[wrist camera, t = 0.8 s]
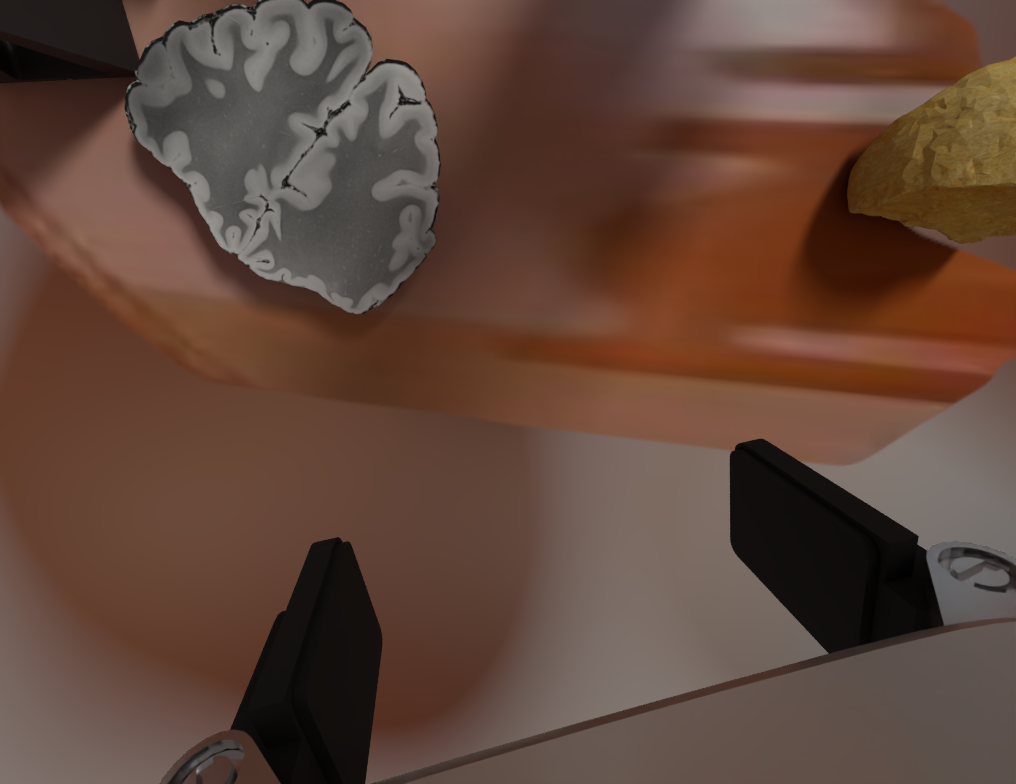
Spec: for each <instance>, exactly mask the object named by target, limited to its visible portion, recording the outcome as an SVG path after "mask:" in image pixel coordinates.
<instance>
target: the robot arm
mask: <svg viewBox="0 0 1016 784" xmlns="http://www.w3.org/2000/svg"><path fill="white" fill-rule="evenodd" d="M730 540H731V545H732V548H733V550H734V552H735V554H736V555H737V556H738V557H739V558H740V559H741V560H742V561H743V562H744V564H745V565H746V566H747V567H748V568H749V569H750V570H751V571H752V572H753V573H754V574H755V575H756V576H757V577H758V578H759V580H760V581H761V582H762V583H763V584H764V585H765V586H766V587H767V588H768V589H769V590H770V591H771V592H772V593H773V594H774V596H775V597H776V598H777V599H778V600H779V601H780V602H781V603H782V604H783V605H784V606H785V607H786V608H787V609H788V611H789V612H790V613H791V614H792V615H793V616H794V617H795V618H796V619H797V620H798V621H799V622H800V623H801V624H802V625H803V626H804V627H805V629H806V630H807V631H808V632H809V633H810V634H811V635H812V636H813V637H814V638H815V639H816V640H817V641H818V643H819V644H820V645H821V646H822V647H823V648H824V649H825V650H826V651H827V652H828V653H829V654H826V655H823V656H819V657H815V658H812V659H808V660H804V661H800V662H797V663H793V664H789V665H786V666H782V667H778V668H775V669H771V670H767V671H764V672H761V673H756V674H753V675H749V676H746V677H742V678H738V679H734V680H731V681H727V682H723V683H720V684H716V685H713V686H709V687H705V688H702V689H699V690H695V691H691V692H687V693H684V694H680V695H677V696H673V697H670V698H666V699H662V700H658V701H655V702H651V703H648V704H644V705H641V706H637V707H634V708H630V709H626V710H623V711H619V712H616V713H612V714H609V715H605V716H601V717H598V718H594V719H591V720H587V721H583V722H580V723H577V724H573V725H569V726H566V727H562V728H559V729H555V730H552V731H549V732H545V733H542V734H538V735H534V736H531V737H528V738H524V739H521V740H517V741H514V742H510V743H506V744H503V745H500V746H496V747H493V748H489V749H486V750H482V751H478V752H475V753H471V754H468V755H464V756H461V757H457V758H454V759H451V760H448V761H444V762H441V763H438V764H435V765H431V766H428V767H425V768H422V769H418V770H415V771H411V772H408V773H405V774H402V775H399V776H395V777H392V778H389V779H385V780H382V781H379V782H375V783H372V784H1016V558H1014V557H1012V556H1010V555H1008V554H1006V553H1004V552H1001V551H998V550H995V549H992V548H990V547H987V546H982V545H977V544H973V543H966V542H956V541H954V542H942V543H939V544H936V545H933V546H932V547H931V548H930V549H929V550H928V551H927V550H925V549H923V548H922V547H920V546H919V545H917V542H918V536H917V535H916V534H914V533H913V532H911V531H910V530H908V529H907V528H905V527H903V526H902V525H900V524H899V523H897V522H895V521H894V520H892V519H891V518H889V517H887V516H885V515H884V514H883V513H881V512H879V511H878V510H876V509H875V508H873V507H871V506H870V505H868V504H867V503H865V502H863V501H862V500H860V499H858V498H857V497H855V496H854V495H852V494H851V493H849V492H847V491H846V490H844V489H843V488H841V487H840V486H838V485H836V484H834V483H833V482H831V481H830V480H828V479H827V478H825V477H823V476H822V475H820V474H819V473H817V472H815V471H814V470H812V469H811V468H809V467H808V466H806V465H804V464H803V463H801V462H800V461H798V460H796V459H795V458H793V457H792V456H790V455H788V454H787V453H785V452H784V451H782V450H780V449H779V448H777V447H776V446H774V445H772V444H771V443H769V442H768V441H766V440H764V439H756V440H752V441H747V442H743V443H739V444H737V445H736V447H735V451H732V452H731V454H730ZM381 652H382V633H381V629H380V625H379V623H378V620H377V617H376V614H375V611H374V608H373V606H372V602H371V600H370V597H369V594H368V591H367V589H366V586H365V582H364V580H363V577H362V574H361V571H360V569H359V565H358V562H357V560H356V557H355V554H354V551H353V548H352V546H351V544H350V542H342V540H341V539H340V538H339V537H337V538H332V539H328V540H324V541H319V542H316V543H313V544H312V545H311V548H310V550H309V553H308V555H307V558H306V560H305V563H304V565H303V568H302V570H301V573H300V576H299V578H298V581H297V583H296V586H295V588H294V591H293V594H292V596H291V599H290V601H289V604H288V606H287V609H286V611H282V612H281V613H280V614H278V616H277V618H276V620H275V621H274V624H273V626H272V629H271V631H270V634H269V636H268V639H267V641H266V643H265V646H264V648H263V651H262V653H261V656H260V658H259V660H258V663H257V665H256V668H255V670H254V673H253V675H252V678H251V680H250V682H249V685H248V687H247V690H246V692H245V695H244V697H243V700H242V702H241V704H240V707H239V709H238V712H237V714H236V717H235V719H234V722H233V724H232V727H231V729H230V730H229V731H223V732H219V733H217V734H215V735H213V736H210V737H208V738H206V739H205V740H203V741H201V742H200V743H199V744H197V745H196V746H194V747H193V748H191V749H190V750H189V751H187V753H185V754H184V755H183V756H182V757H181V758H180V759H179V760H178V761H177V762H176V763H175V764H174V765H173V766H172V768H171V769H170V770H169V771H168V772H167V774H166V775H165V776H164V777H163V779H162V780H161V782H160V784H365V780H366V772H367V764H368V756H369V748H370V740H371V732H372V724H373V715H374V708H375V700H376V691H377V683H378V676H379V667H380V659H381Z"/></svg>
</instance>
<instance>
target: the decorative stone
mask: <svg viewBox="0 0 1016 784" xmlns="http://www.w3.org/2000/svg"><path fill="white" fill-rule="evenodd" d="M847 199H848V210H849V212H850V213H862V214H865V215H868V216H881V217H884V218H888V219H890V220H897V221H899V222H900V223H901V224H902V225H904V226H905V227H914V226H919V227H924V228H929V229H936V230H938V231H939V232H941V233H943V234H944V235H946V236H947V237H948V239H949V240H954V241H956V242H958V243H974V242H978V241H982V240H984V239H985V238H987V237H992V236H995V237H997V236H999V237H1001V236H1013V235H1016V57H1014V58H1012V59H1011V60H1007V61H1003V62H998V63H994V64H990V65H987V66H985V67H983V68H980V69H978V70H976V71H974V72H972V73H970V74H968V75H966V76H965V77H963V78H961V79H960V80H959V81H957V82H956V83H955V84H954V85H952V86H950V87H948V88H946V89H945V90H943V91H941V92H940V93H938V94H937V95H935V96H934V97H932V98H931V99H930V100H928V101H927V102H925V103H924V104H923V105H921V106H919V107H918V108H916V109H914V110H913V111H911V112H909V113H908V114H906V115H903V116H901V117H900V118H898V119H897V120H895V121H894V122H893V123H892V124H890V125H889V126H888V127H887V128H886V129H885V130H884V131H883V132H882V133H881V134H880V135H879V136H878V137H877V138H876V139H875V140H874V141H873V142H872V143H871V144H870V145H869V146H868V147H867V149H866V150H865V151H864V153H863V154H862V155H861V156H860V157H859V159H858V160H857V162H856V163H855V165H854V167H853V168H852V170H851V173H850V176H849V182H848V189H847Z"/></svg>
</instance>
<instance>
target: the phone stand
mask: <svg viewBox="0 0 1016 784" xmlns="http://www.w3.org/2000/svg"><path fill="white" fill-rule="evenodd" d="M138 62H139V57H138V53H137V50H136V47H135V43H134V40H133V36H132V33H131V30H130V26H129V23H128V20H127V16H126V13H125V9H124V6H123V3H122V0H0V83H14V82H35V81H56V80H67V79H73V80H76V79H97V78H118V77H136V74H135V68H136V66H137V64H138Z"/></svg>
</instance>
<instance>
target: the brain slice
mask: <svg viewBox="0 0 1016 784" xmlns="http://www.w3.org/2000/svg"><path fill="white" fill-rule="evenodd" d="M372 48H373V47H372V39H371V35H370V34H369V32H368V31H367V29H366V27H365V26H364V25H362V24H361V23H360V22H359V21H358V20H356V19H355V18H354V17H353V14H352V12H351V10H350V9H349V8H348V7H347V6H346V5H345V4H344V3H342V2H339V1H337V0H312V1H311V2H310V3H309V4H307V3H306V2H305V1H304V0H259V1H258V2H257V3H256V4H255V5H254V6H253V7H248V6H245V5H242V4H236V5H229V6H227V7H225V8H222V9H220V10H218V11H216V12H214V13H210V14H205V15H202V16H200V17H198V18H197V19H195V20H193V21H192V22H190V23H188V22H184V21H180V20H179V21H178V22H176V23H174V24H172V25H171V26H169V28H168V29H167V31H166V32H165V33H164V35H163V36H162V37H160V38H158V39H155V40H153V41H151V42H150V43H149V44H148V45H147V46H146V47H145V49H144V52H143V54H142V57H141V59H140V60H139V62H138V64H137V66H136V68H135V74H136V77H137V79H138V80H137V81H135V82H133V83H131V84H130V85H129V86H128V88H127V92H126V95H125V112H126V116H127V119H128V123H129V125H130V128H131V130H133V131H132V132H133V134H134V136H135V138H136V139H137V140H138V142H139V143H140V144H141V145H142V146H144V147H145V148H147V149H148V150H149V151H150V153H151V154H152V155H153V156H154V157H155V158H156V159H157V160H158V161H159V162H161V163H162V164H164V165H166V166H167V167H168V168H170V169H171V170H172V171H173V172H174V173H175V174H176V175H177V176H178V177H179V178H180V179H181V180H182V181H183V182H184V183H185V184H186V185H187V187H188V189H189V191H190V194H191V196H192V198H193V200H194V202H195V204H196V206H197V208H198V210H199V212H200V214H201V215H202V217H203V219H204V220H205V222H206V223H207V224H208V225H209V229H210V232H211V234H212V235H213V237H214V238H215V240H216V241H217V243H218V244H219V246H220V247H221V248H223V249H224V250H226V251H227V252H228V253H230V254H233V253H235V254H238V260H239V261H241V262H242V263H244V264H245V265H247V267H249V268H250V269H251V270H252V271H254V272H255V273H256V274H258V275H259V276H260V277H261V278H264V279H267V280H271V281H280V282H283V283H285V284H288V285H292V286H295V287H305V288H307V289H310V290H312V291H315V292H317V293H319V294H320V295H321V296H322V297H323V298H325V299H326V300H327V301H328V302H330V303H331V304H332V305H335V306H338V307H340V308H342V309H343V310H345V311H347V312H349V313H353V314H363V313H366V312H367V311H369V310H371V309H372V308H374V307H377V306H379V305H380V304H381V303H383V302H384V301H385V300H387V299H388V298H390V297H391V296H392V295H393V294H394V293H395V292H396V291H397V290H398V289H399V288H400V286H401V284H402V283H403V282H404V281H405V280H406V279H407V278H408V277H409V276H410V275H411V274H412V273H413V272H414V271H415V270H416V269H417V268H418V267H419V266H420V264H421V263H422V262H423V261H424V260H425V258H426V256H427V254H428V253H429V252H430V251H431V250H432V249H433V248H434V245H435V241H436V237H435V233H434V232H433V231H432V230H431V229H432V227H433V224H434V222H435V218H436V213H437V208H438V205H439V200H440V196H439V194H438V187H437V186H436V182H437V179H438V177H439V174H440V166H441V164H440V154H439V148H438V145H437V142H436V139H435V138H436V134H437V130H438V127H437V122H436V117H435V114H434V111H433V109H432V106H431V104H430V103H429V102H428V100H427V99H426V92H425V88H424V85H423V82H422V80H421V79H420V77H419V75H418V74H417V72H416V71H415V69H414V68H412V67H411V66H410V65H409V64H408V63H406V62H403V61H400V60H391V59H386V60H383V61H381V62H378V63H377V64H376V65H375V66H374V67H373V68H372V69H371V70H370V71H369V72H368V73H367V74H366V72H367V70H368V68H369V67H370V64H371V61H372Z"/></svg>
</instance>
